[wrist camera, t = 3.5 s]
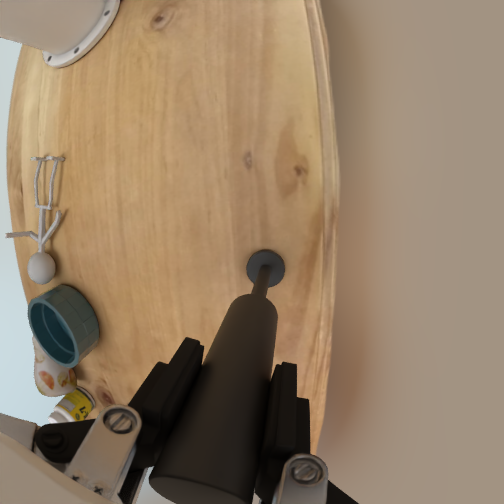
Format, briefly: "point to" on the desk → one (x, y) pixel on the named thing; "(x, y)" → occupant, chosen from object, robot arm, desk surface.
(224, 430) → the cylinder on disc stand
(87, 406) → the supplement bottle
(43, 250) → the figurine
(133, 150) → the desk surface
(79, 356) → the bowl
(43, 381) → the mug
